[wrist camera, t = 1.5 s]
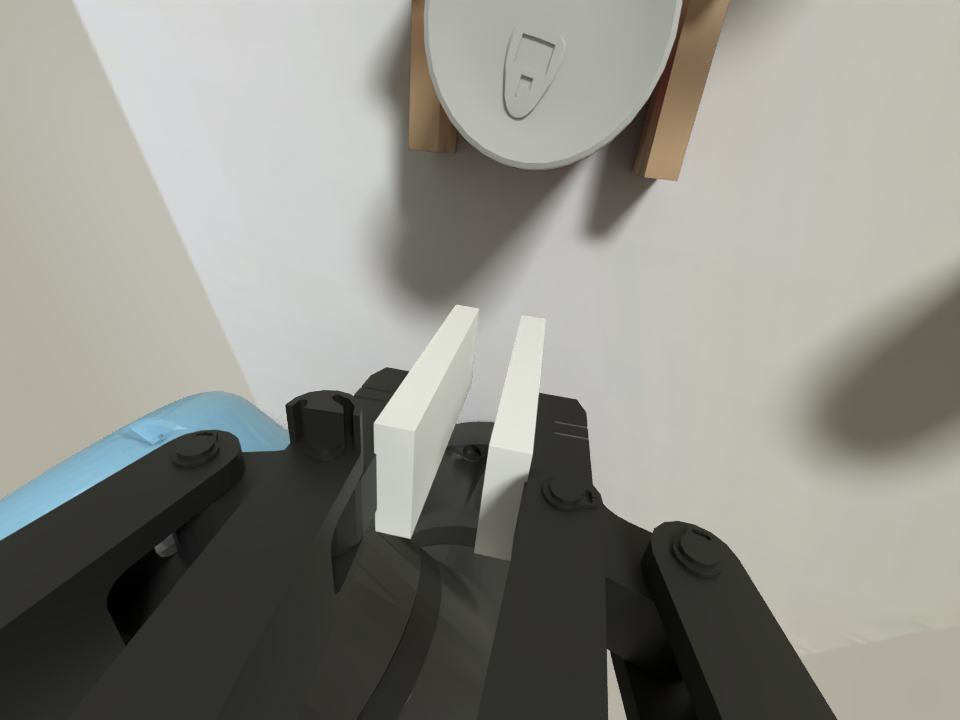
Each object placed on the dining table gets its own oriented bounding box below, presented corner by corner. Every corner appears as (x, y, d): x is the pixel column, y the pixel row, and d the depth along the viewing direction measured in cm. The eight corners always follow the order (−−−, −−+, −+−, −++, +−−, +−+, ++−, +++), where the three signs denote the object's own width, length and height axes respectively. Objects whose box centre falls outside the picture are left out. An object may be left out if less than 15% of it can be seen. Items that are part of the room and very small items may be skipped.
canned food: (478, 159, 25) (422, 166, 15) (484, -19, 21) (417, -166, 11) (614, 166, 24) (650, 178, 14) (645, -20, 20) (724, -182, 10)
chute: (659, 176, 23) (688, 184, 18) (430, 149, 25) (394, 149, 19) (718, -39, 19) (777, -111, 14) (439, -57, 21) (396, -129, 15)
